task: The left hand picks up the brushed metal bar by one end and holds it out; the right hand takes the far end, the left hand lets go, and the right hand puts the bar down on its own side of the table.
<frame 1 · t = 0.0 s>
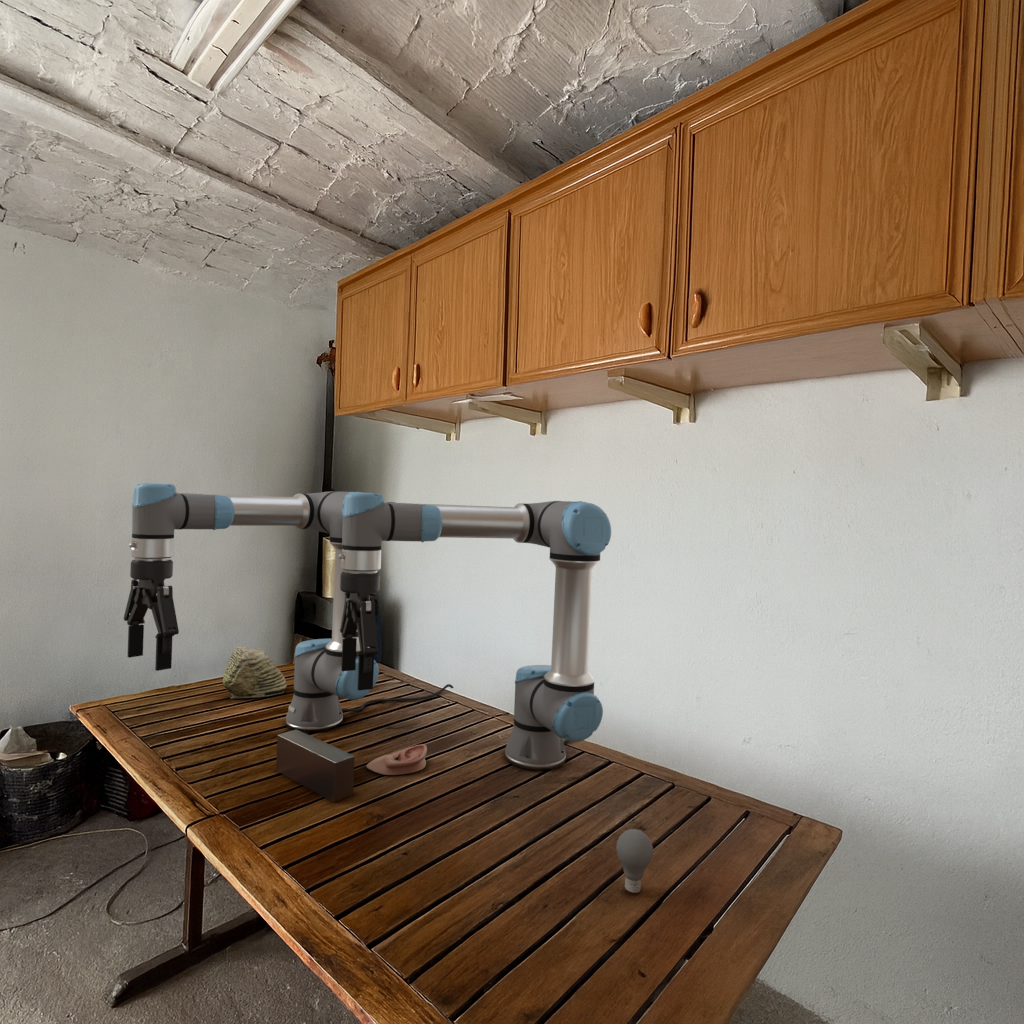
left hand: (148, 662, 129), 28 cm above the table, tool pointing down, fingers open, 13 cm apart
right hand: (356, 679, 124), 28 cm above the table, tool pointing down, fingers open, 13 cm apart
bar: (313, 782, 140), on the table
anatomical model: (397, 766, 150), on the table
fossil: (254, 694, 198), on the table
light bulb: (632, 891, 106), on the table
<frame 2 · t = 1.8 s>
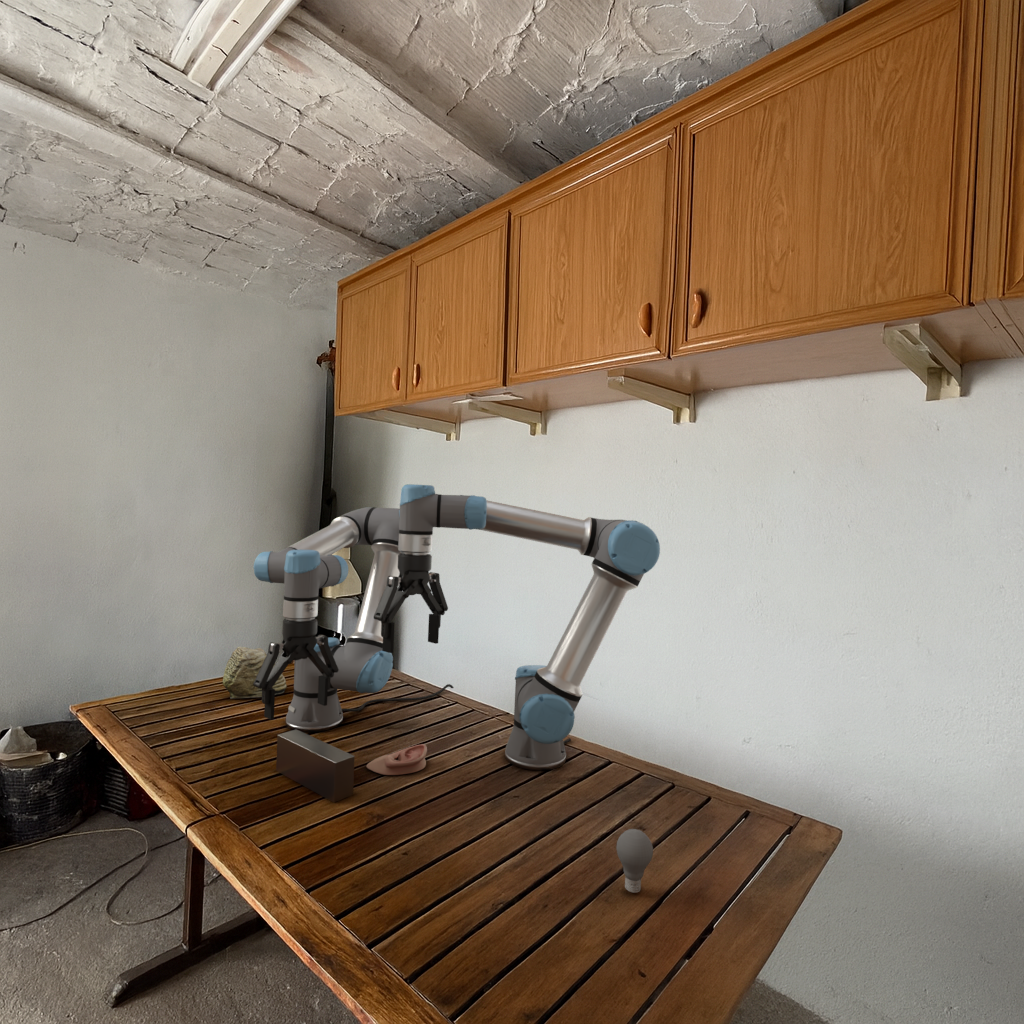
left hand: (296, 711, 144), 14 cm above the table, tool pointing down, fingers open, 13 cm apart
right hand: (411, 647, 143), 30 cm above the table, tool pointing down, fingers open, 13 cm apart
nothing on the table moved.
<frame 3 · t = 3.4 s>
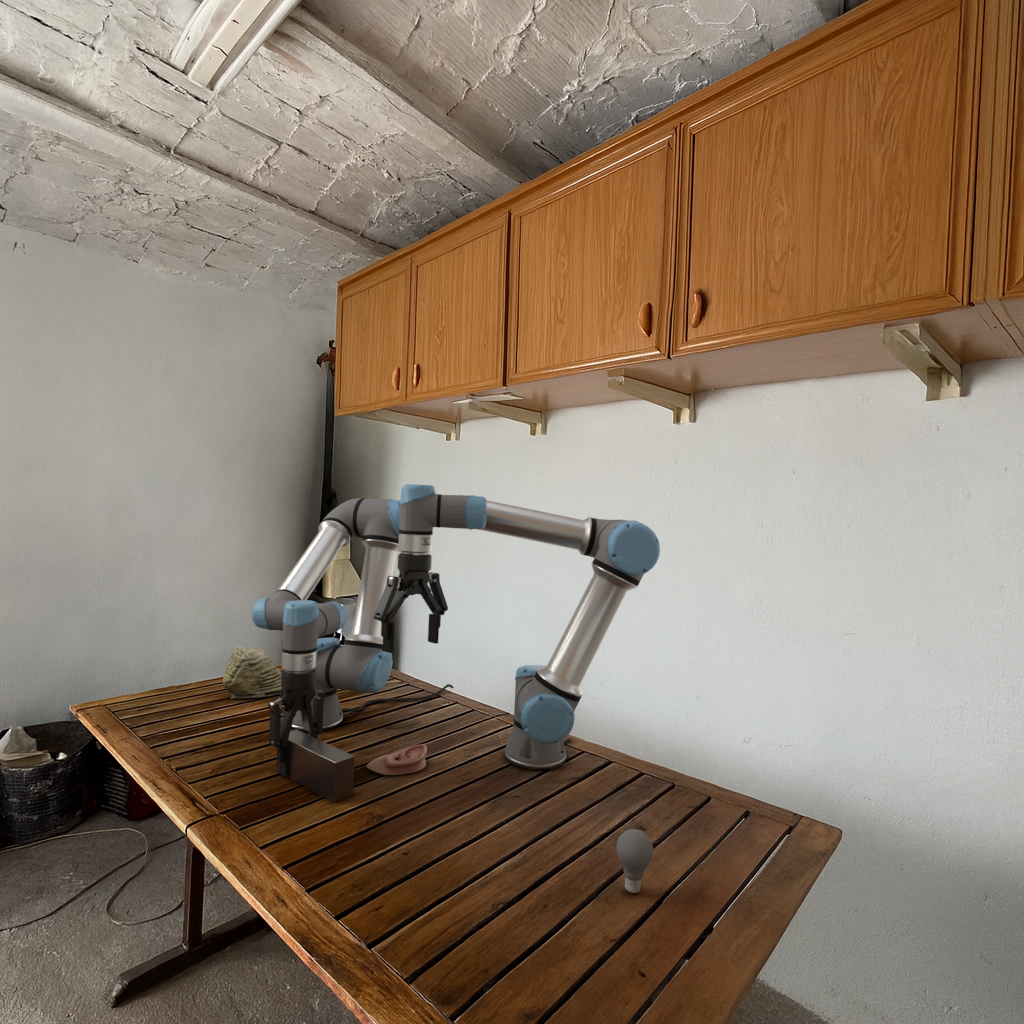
left hand: (295, 770, 145), 1 cm above the table, tool pointing down, fingers closed on bar, 5 cm apart
right hand: (411, 647, 143), 30 cm above the table, tool pointing down, fingers open, 13 cm apart
bar: (313, 782, 140), on the table, touching left hand
everything else where it was.
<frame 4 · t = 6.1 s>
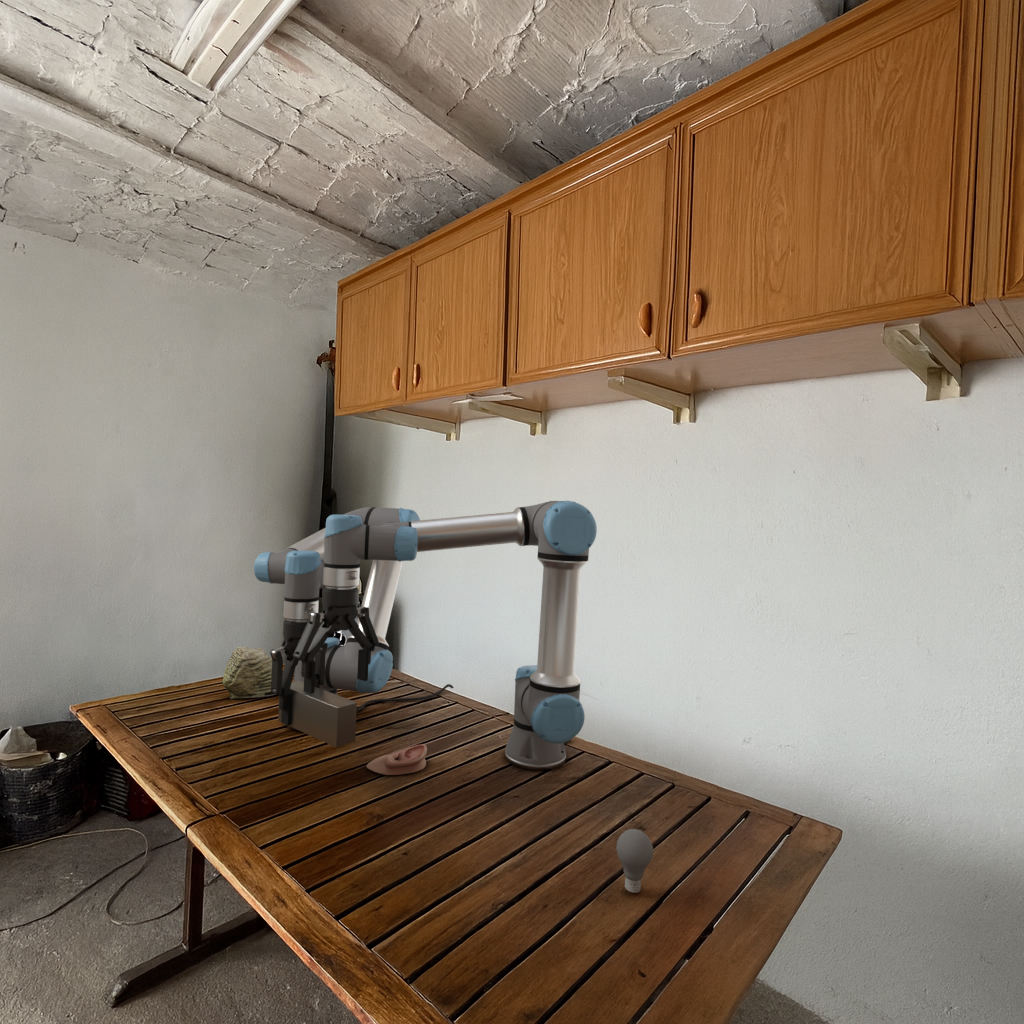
left hand: (297, 720, 145), 12 cm above the table, tool pointing down, fingers closed on bar, 5 cm apart
right hand: (336, 686, 135), 23 cm above the table, tool pointing down, fingers open, 13 cm apart
bar: (315, 730, 140), point 12 cm above the table, touching left hand
everything else where it was.
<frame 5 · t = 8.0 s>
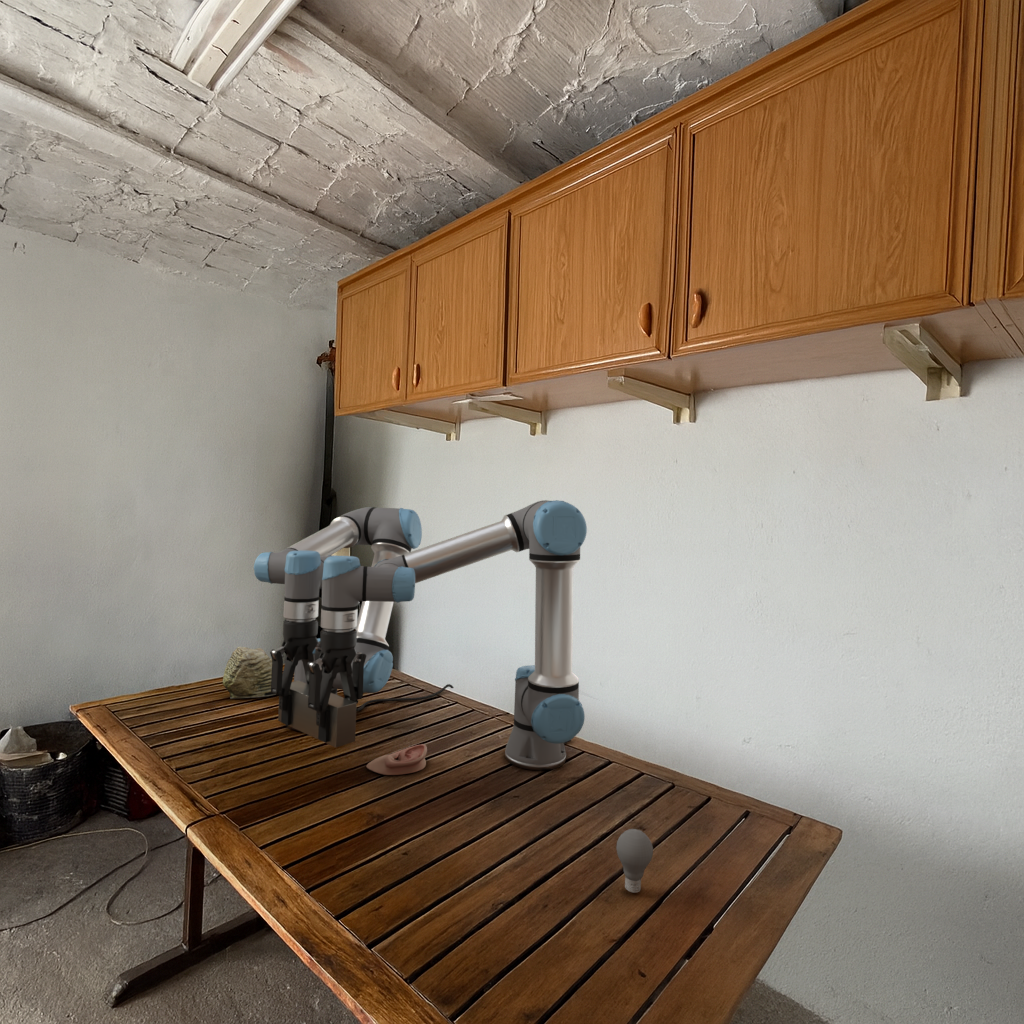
left hand: (297, 720, 145), 12 cm above the table, tool pointing down, fingers closed on bar, 5 cm apart
right hand: (334, 736, 136), 12 cm above the table, tool pointing down, fingers closed on bar, 5 cm apart
bar: (315, 730, 140), point 12 cm above the table, touching left hand, right hand
everything else where it was.
when the left hand's fingers open (12 cm above the table, at t = 8.7 s): bar stays where it is, held by the right hand.
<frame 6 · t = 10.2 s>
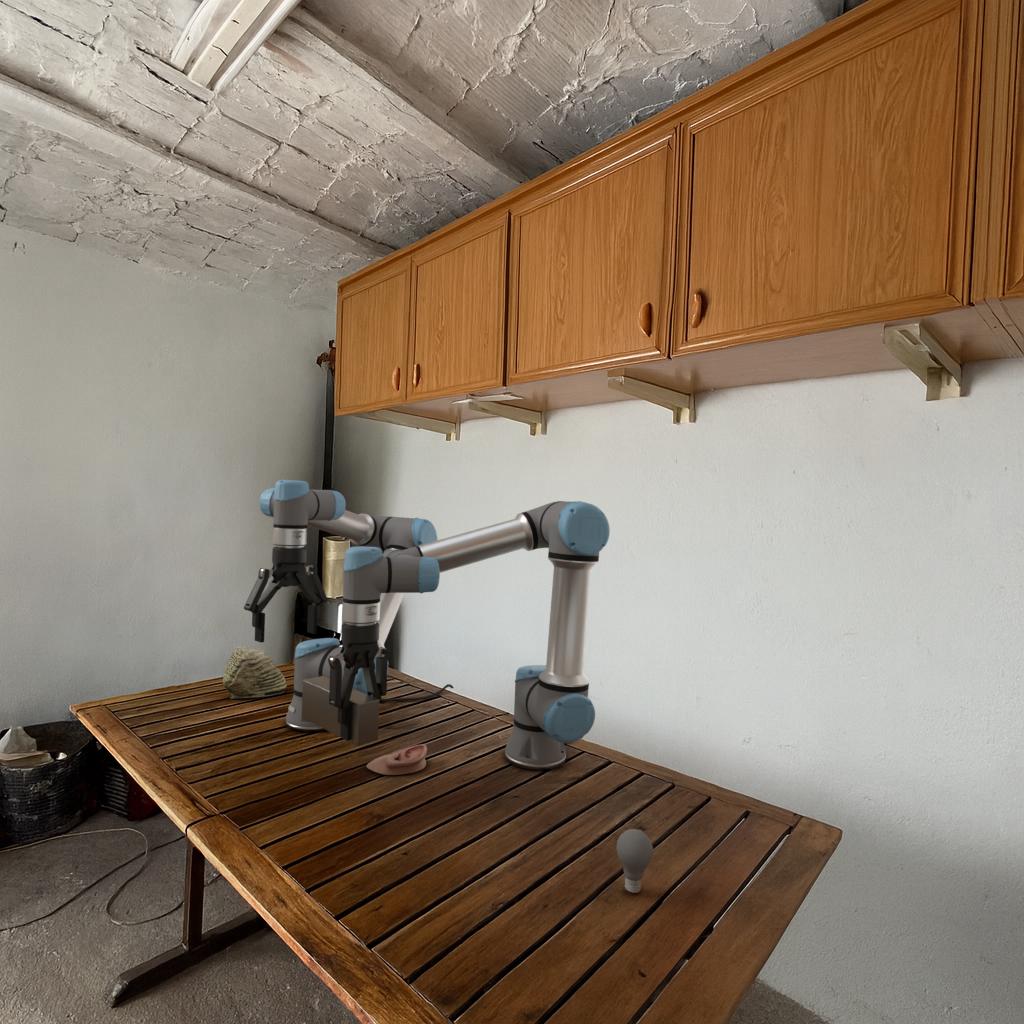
left hand: (286, 637, 148), 30 cm above the table, tool pointing down, fingers open, 13 cm apart
right hand: (357, 734, 130), 15 cm above the table, tool pointing down, fingers closed on bar, 5 cm apart
bar: (338, 728, 135), point 14 cm above the table, touching right hand
everything else where it was.
when the right hand's fingers open (2 cm above the table, at t = 12.4 s): bar drops 1 cm, on the table.
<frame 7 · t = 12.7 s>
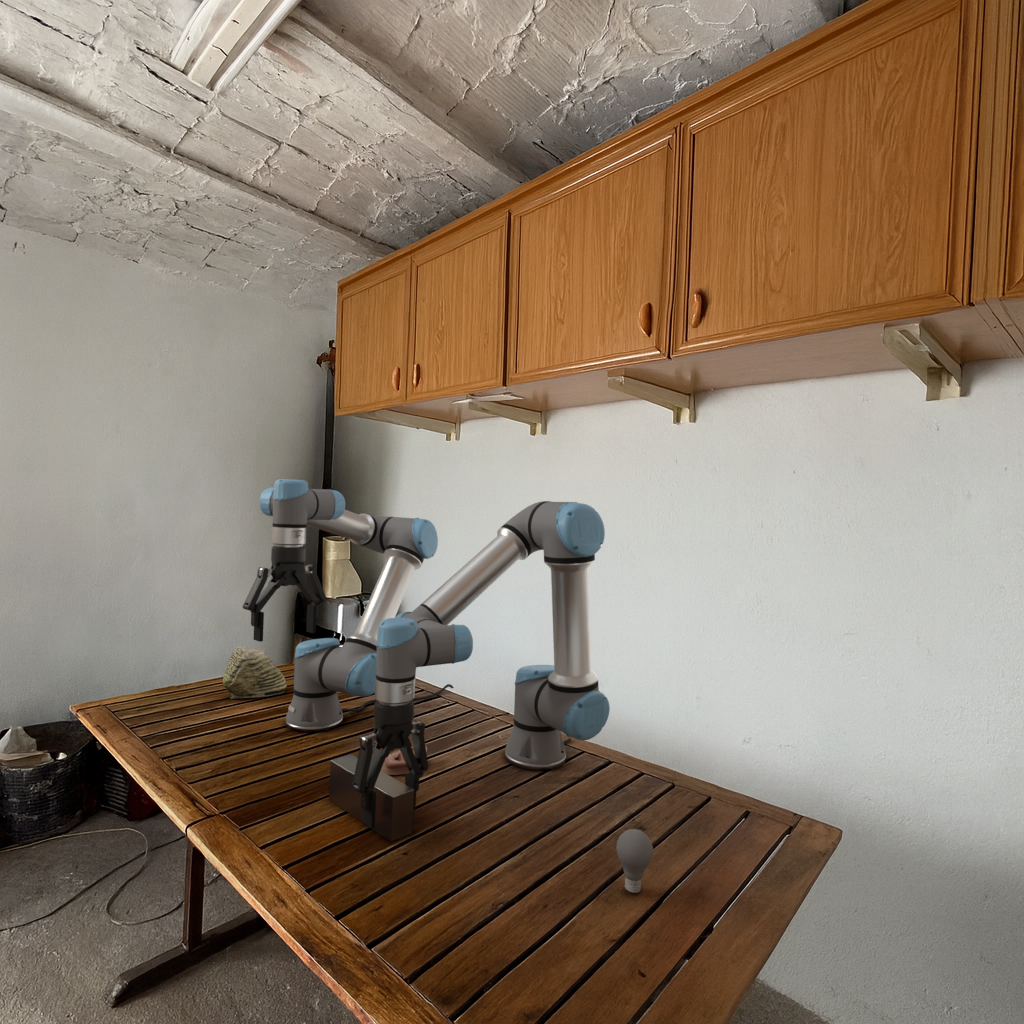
left hand: (285, 636, 148), 30 cm above the table, tool pointing down, fingers open, 13 cm apart
right hand: (389, 816, 122), 3 cm above the table, tool pointing down, fingers open, 9 cm apart
bar: (368, 815, 127), on the table
everything else where it was.
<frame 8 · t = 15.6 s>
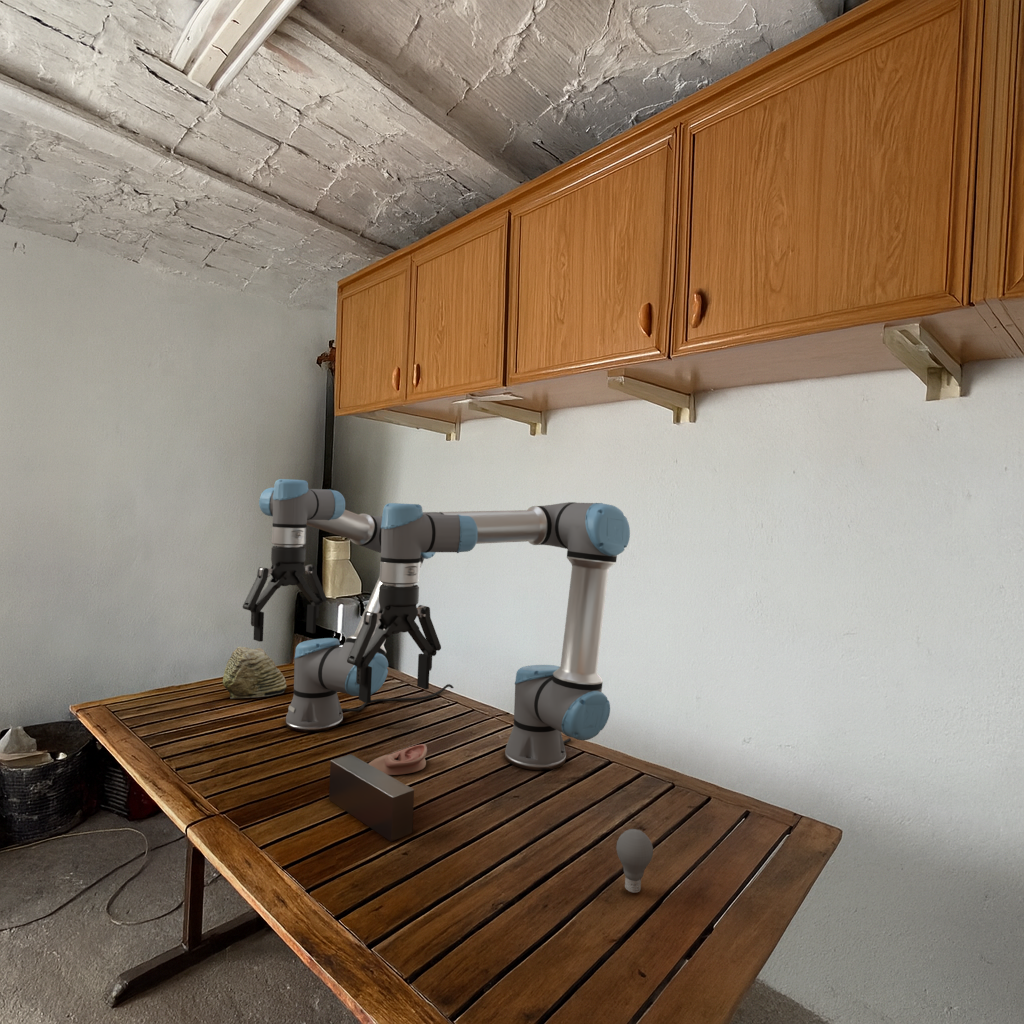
left hand: (285, 636, 148), 30 cm above the table, tool pointing down, fingers open, 13 cm apart
right hand: (394, 694, 121), 26 cm above the table, tool pointing down, fingers open, 13 cm apart
nothing on the table moved.
at the end: bar inside the target area (7.0 cm from its centre), on the table; the left hand is holding nothing; the right hand is holding nothing; bar at rest at the end (0.0 cm/s) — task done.
